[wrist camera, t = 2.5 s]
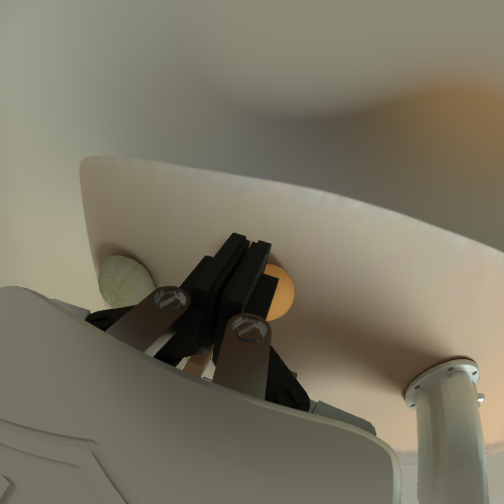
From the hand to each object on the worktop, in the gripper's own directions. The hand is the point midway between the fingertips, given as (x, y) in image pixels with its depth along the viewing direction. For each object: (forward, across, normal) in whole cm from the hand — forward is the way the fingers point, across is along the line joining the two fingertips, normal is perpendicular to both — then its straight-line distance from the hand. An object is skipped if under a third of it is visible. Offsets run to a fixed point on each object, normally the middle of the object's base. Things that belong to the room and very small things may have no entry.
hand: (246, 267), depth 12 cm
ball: (+11, 0, +10) cm, 15 cm away
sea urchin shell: (+14, +18, +18) cm, 29 cm away
